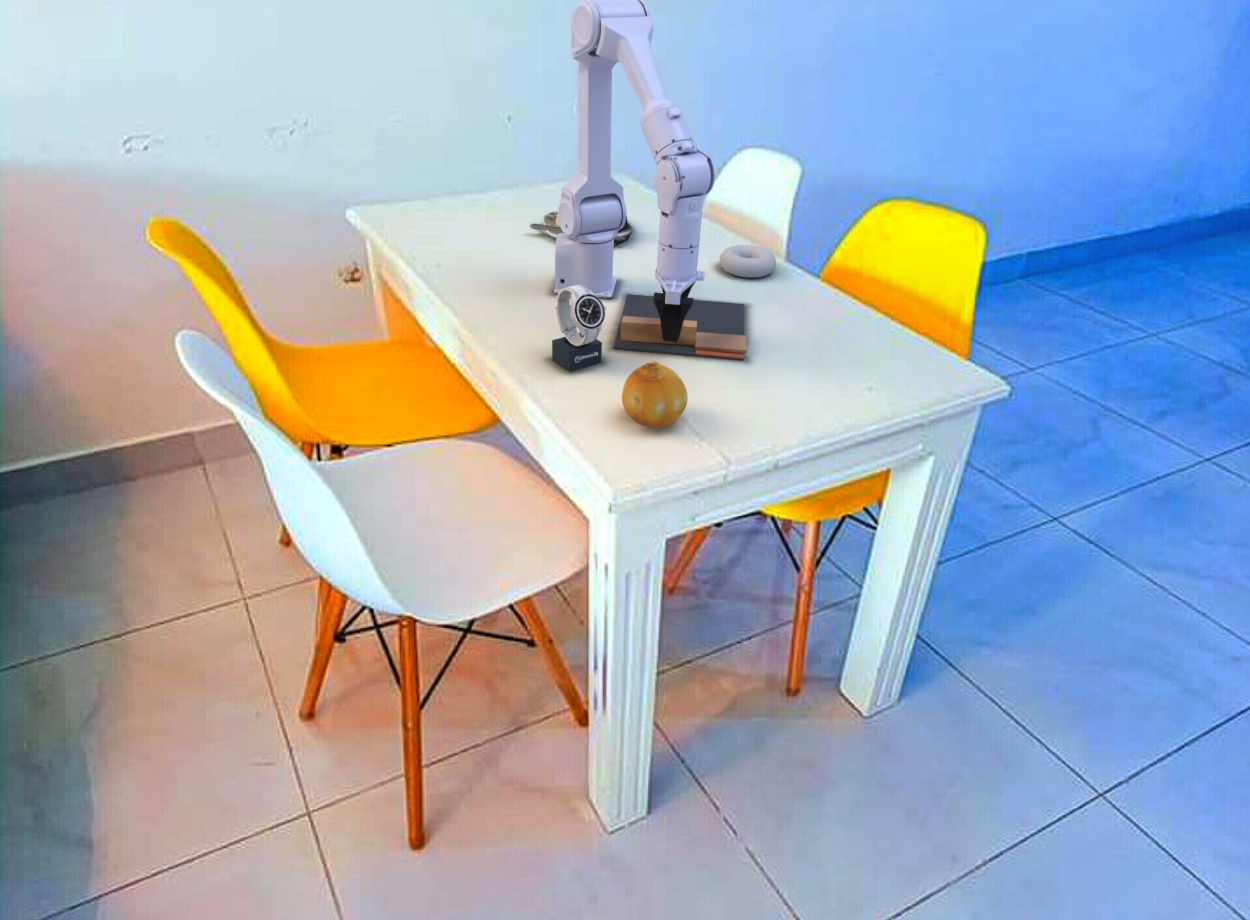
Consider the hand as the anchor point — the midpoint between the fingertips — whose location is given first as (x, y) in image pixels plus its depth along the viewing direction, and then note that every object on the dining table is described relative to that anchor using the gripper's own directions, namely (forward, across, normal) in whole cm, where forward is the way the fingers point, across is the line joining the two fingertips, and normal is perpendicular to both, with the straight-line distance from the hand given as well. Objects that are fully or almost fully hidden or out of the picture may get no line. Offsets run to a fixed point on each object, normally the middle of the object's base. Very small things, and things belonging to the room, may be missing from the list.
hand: (672, 330), depth 135 cm
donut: (+2, +32, -11) cm, 34 cm away
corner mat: (+2, +6, -1) cm, 7 cm away
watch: (+2, -8, +13) cm, 15 cm away
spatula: (+2, 0, -2) cm, 2 cm away
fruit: (+2, -22, +1) cm, 23 cm away
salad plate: (+2, +46, +19) cm, 49 cm away
